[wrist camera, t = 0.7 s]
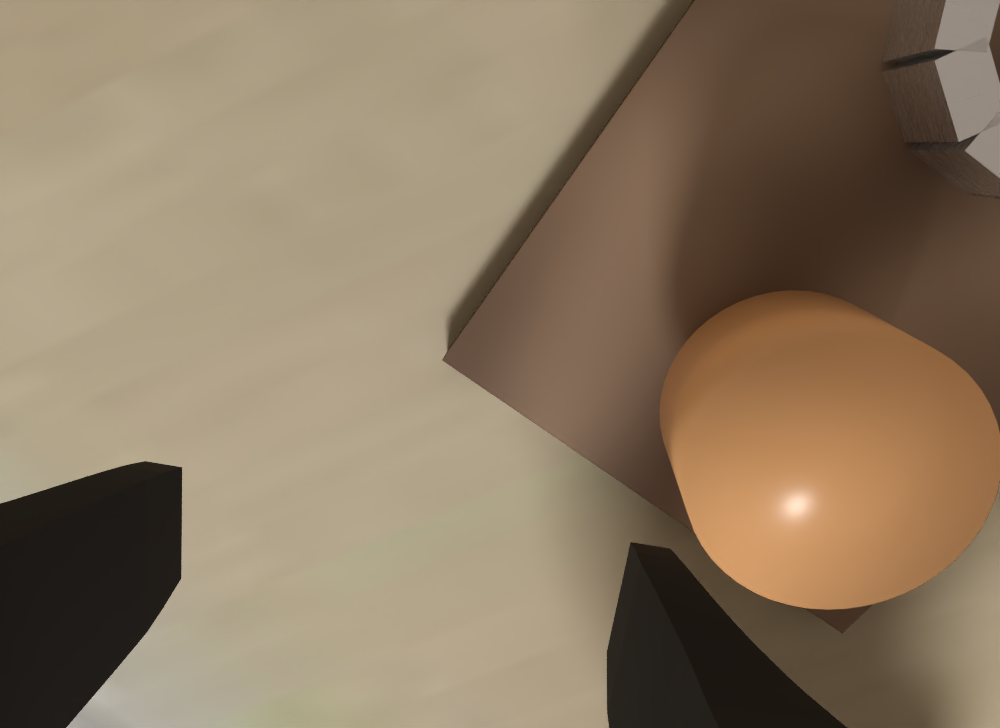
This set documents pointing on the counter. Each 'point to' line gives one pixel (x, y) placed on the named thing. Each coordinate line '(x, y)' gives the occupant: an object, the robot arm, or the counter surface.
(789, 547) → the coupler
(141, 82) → the counter surface
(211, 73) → the counter surface
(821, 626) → the counter surface
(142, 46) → the counter surface
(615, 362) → the brown board
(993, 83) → the duct stub
